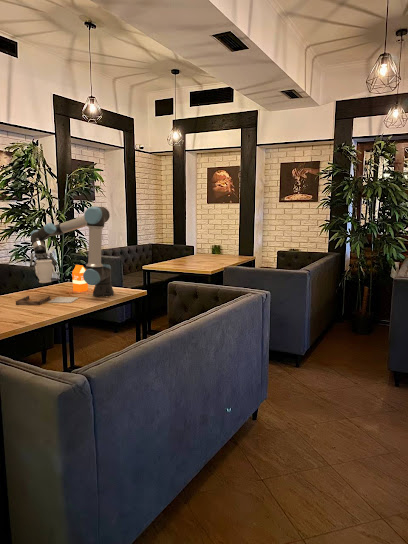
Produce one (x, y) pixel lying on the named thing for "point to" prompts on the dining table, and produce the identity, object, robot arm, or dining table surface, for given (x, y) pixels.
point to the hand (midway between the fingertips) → (45, 273)
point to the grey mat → (63, 300)
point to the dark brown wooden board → (25, 302)
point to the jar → (44, 270)
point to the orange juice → (79, 279)
